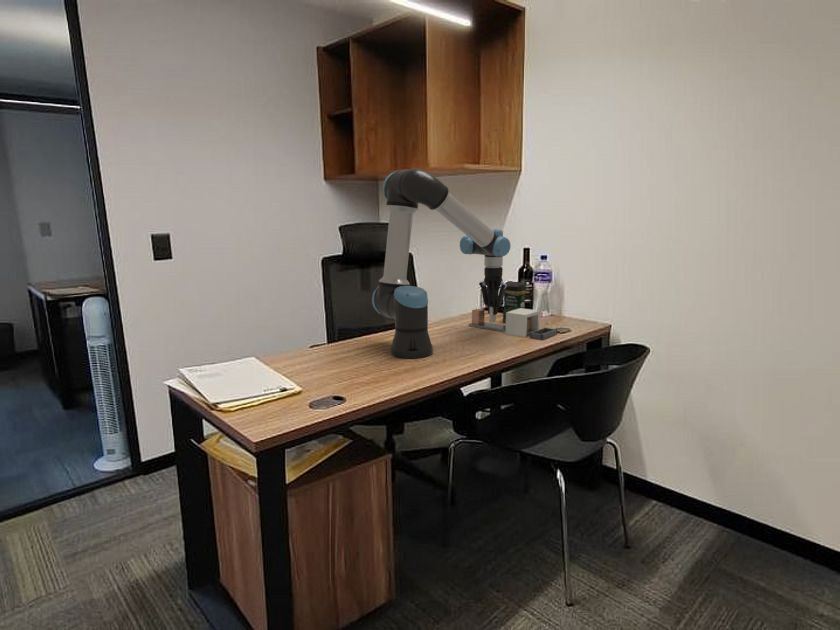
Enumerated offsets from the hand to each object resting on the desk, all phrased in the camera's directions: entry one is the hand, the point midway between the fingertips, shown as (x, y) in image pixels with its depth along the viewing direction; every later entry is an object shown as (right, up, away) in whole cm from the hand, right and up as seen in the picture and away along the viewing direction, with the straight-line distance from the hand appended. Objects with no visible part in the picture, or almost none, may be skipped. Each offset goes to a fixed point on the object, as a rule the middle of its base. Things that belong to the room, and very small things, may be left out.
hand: (492, 321), depth 221 cm
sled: (+3, -3, -2) cm, 5 cm away
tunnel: (+11, -5, -9) cm, 15 cm away
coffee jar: (+11, -1, +11) cm, 15 cm away
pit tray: (+18, -6, -15) cm, 24 cm away
